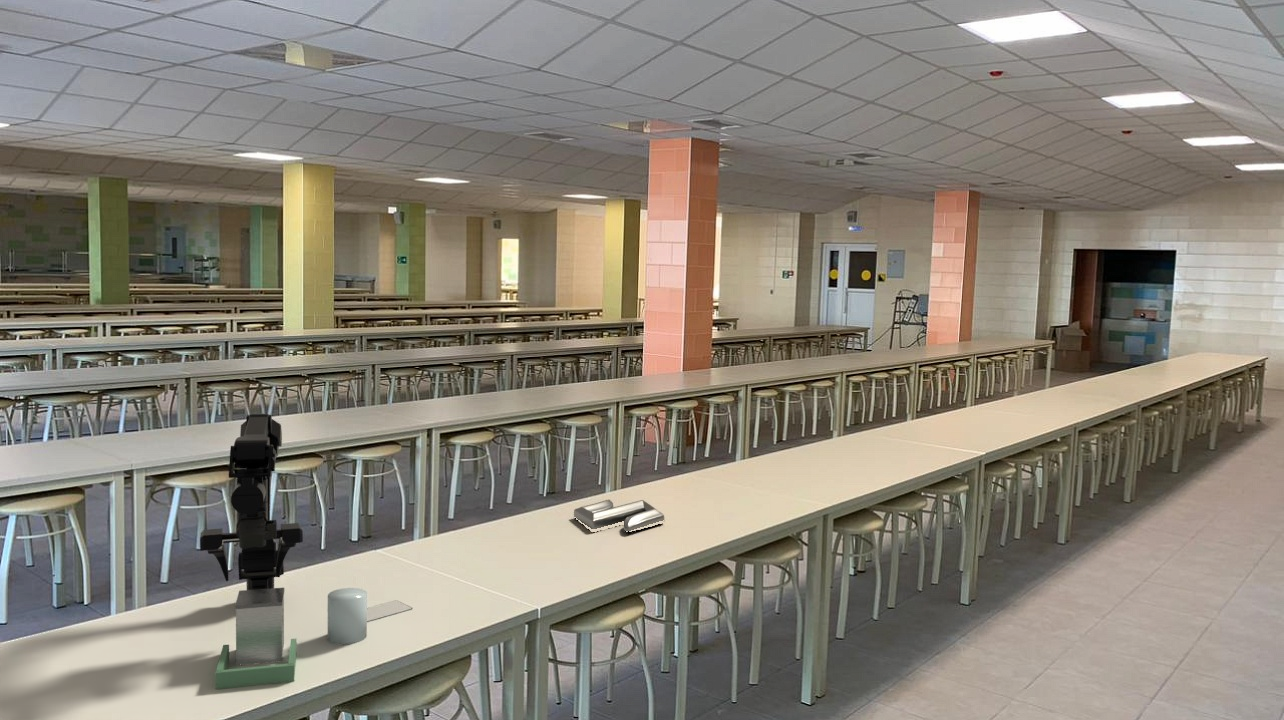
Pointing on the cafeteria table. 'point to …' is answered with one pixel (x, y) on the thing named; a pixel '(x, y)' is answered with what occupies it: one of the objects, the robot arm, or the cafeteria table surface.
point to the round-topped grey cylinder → (347, 615)
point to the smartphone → (386, 610)
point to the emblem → (618, 514)
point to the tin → (259, 626)
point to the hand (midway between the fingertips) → (252, 578)
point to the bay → (254, 671)
